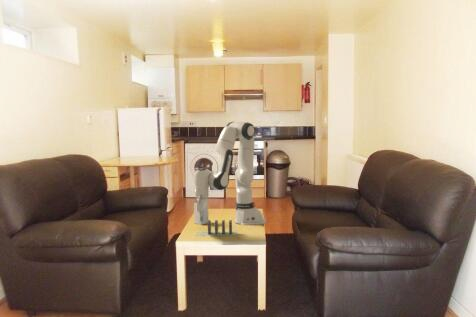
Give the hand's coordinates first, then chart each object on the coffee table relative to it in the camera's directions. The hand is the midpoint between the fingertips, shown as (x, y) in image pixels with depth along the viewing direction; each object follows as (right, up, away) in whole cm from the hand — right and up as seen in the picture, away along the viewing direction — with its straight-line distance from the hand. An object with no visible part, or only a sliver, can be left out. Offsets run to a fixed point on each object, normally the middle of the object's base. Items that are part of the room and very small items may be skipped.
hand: (201, 215), depth 218 cm
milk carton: (-3, -10, +25) cm, 28 cm away
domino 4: (+14, -12, +1) cm, 18 cm away
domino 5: (+18, -12, +1) cm, 22 cm away
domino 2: (+5, -12, +1) cm, 13 cm away
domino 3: (+9, -12, +1) cm, 15 cm away
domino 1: (0, -3, 0) cm, 3 cm away
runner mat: (+9, -12, +1) cm, 16 cm away
